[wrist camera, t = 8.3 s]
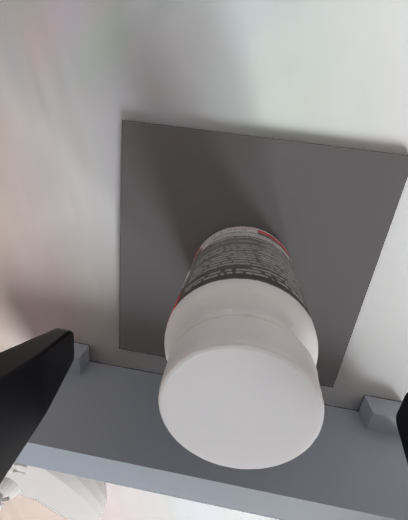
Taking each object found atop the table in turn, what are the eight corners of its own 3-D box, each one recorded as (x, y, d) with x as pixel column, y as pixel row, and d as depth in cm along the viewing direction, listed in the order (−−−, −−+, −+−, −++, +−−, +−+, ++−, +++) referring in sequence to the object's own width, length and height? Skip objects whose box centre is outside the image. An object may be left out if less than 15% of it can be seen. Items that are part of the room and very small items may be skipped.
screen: (402, 402, 17) (466, 513, 12) (378, 451, 19) (426, 568, 14) (57, 339, 19) (-14, 415, 14) (61, 390, 20) (-1, 474, 15)
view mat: (409, 155, 13) (414, 156, 12) (330, 382, 17) (332, 387, 17) (125, 120, 14) (122, 120, 13) (121, 344, 18) (119, 348, 18)
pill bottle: (178, 241, 15) (106, 354, 7) (276, 210, 14) (310, 304, 6) (212, 323, 16) (182, 489, 9) (303, 300, 15) (359, 468, 8)
